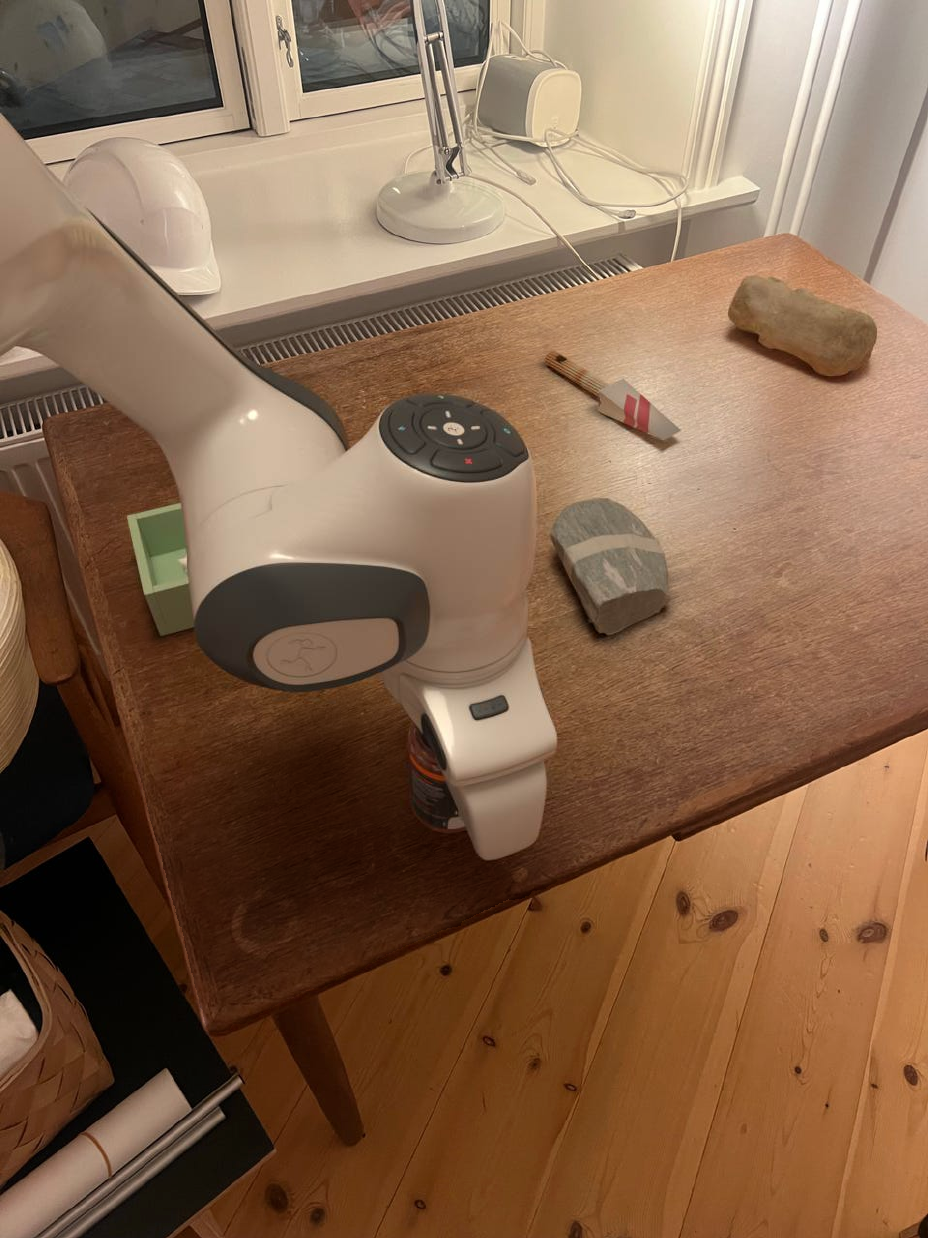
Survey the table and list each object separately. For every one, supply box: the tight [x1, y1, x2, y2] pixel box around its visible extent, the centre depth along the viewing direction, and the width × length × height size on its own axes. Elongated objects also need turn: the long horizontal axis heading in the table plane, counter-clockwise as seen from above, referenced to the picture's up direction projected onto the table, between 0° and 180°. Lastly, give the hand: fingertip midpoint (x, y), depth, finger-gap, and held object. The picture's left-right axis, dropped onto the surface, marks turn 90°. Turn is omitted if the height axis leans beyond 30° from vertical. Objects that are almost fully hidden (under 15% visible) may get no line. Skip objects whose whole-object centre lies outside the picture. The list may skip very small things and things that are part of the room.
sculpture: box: [727, 275, 878, 377], centre depth 109 cm, size 9×17×10 cm
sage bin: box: [126, 502, 194, 637], centre depth 85 cm, size 14×11×6 cm
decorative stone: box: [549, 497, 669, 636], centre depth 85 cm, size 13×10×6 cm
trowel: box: [544, 350, 682, 441], centre depth 104 cm, size 4×3×20 cm
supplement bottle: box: [407, 721, 467, 834], centre depth 64 cm, size 6×6×11 cm
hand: (450, 768), depth 65 cm, fingers closed on supplement bottle, 6 cm apart
